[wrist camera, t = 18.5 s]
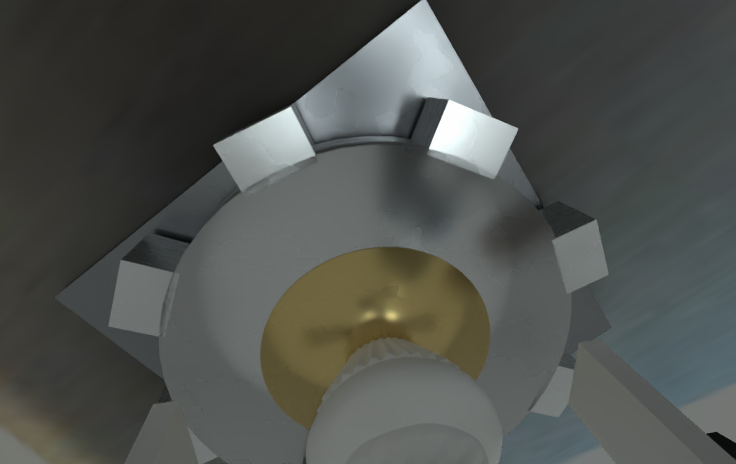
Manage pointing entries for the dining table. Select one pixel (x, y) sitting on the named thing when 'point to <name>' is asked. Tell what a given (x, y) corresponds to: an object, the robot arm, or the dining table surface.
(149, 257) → the sprocket
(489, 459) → the muffin
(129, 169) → the dining table surface
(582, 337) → the base plate
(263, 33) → the dining table surface
